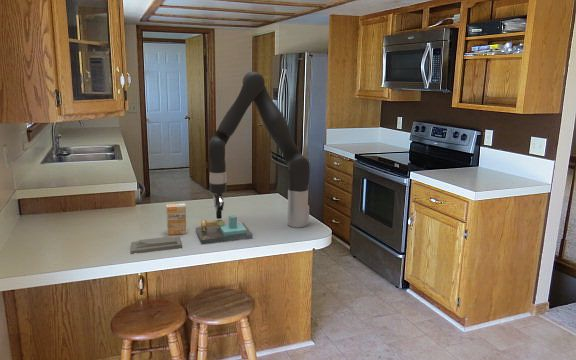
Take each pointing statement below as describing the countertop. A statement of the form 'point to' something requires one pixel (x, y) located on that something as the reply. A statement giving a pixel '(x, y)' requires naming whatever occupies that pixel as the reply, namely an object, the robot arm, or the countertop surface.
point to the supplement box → (176, 219)
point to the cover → (233, 227)
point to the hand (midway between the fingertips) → (218, 218)
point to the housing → (220, 235)
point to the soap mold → (156, 244)
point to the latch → (211, 224)
